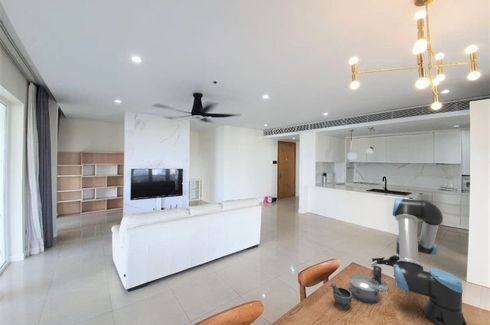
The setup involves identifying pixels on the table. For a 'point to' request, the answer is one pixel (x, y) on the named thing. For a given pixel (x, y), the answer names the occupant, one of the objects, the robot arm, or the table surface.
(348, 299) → the mortar and pestle
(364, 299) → the cooker pot
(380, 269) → the steel lid
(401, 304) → the table surface
